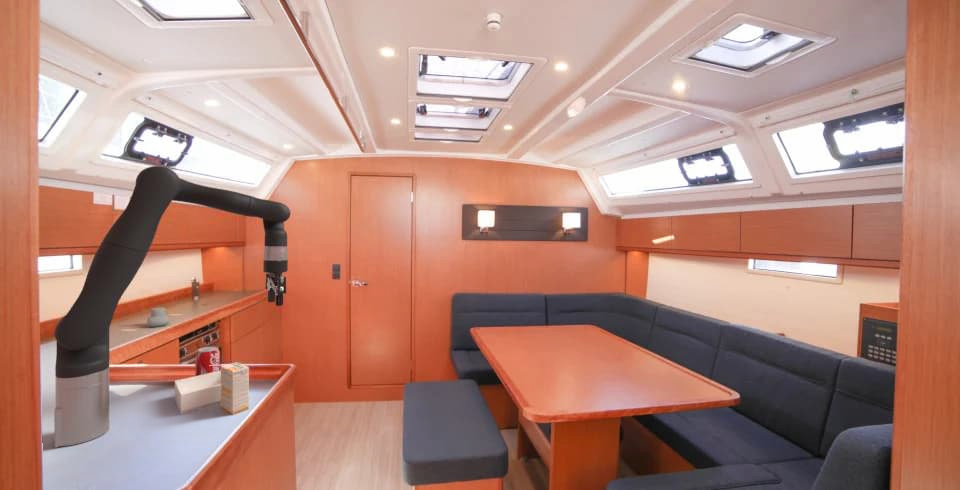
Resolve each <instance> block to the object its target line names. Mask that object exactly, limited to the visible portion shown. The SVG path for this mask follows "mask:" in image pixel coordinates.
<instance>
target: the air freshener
mask: <svg viewBox="0 0 960 490" xmlns="http://www.w3.org/2000/svg"><path fill="white" fill-rule="evenodd" d="M150 311H151V312H150V313H151V314H150V316H149V317H147V326H148V327H150V328H159V326H160V327H163V326H164V325H165V326H167V325H169V324H170V317H169V315H167V314H166V307H164V306H163V307H162V306H161V307H153V308H151V310H150Z"/></svg>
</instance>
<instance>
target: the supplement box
mask: <svg viewBox="0 0 960 490" xmlns="http://www.w3.org/2000/svg"><path fill="white" fill-rule="evenodd" d="M220 371H221V404H220V408H221V409H223V410H225V412H228V413H229V414H231V415H235V414H237V413H240V412H243V411H246V410H249V405H250V403H249V400H250V397H249V396H250V395H249V394H250V393H249V391H250V390H249V389H250V383H249V382H250V367H249V366H247V365H245V364H243V363H240V362H239V361H237V362H236V361H235V362H232V363H228V364H225V365H220Z"/></svg>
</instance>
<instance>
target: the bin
mask: <svg viewBox="0 0 960 490" xmlns="http://www.w3.org/2000/svg"><path fill="white" fill-rule="evenodd" d="M174 402H175V404H176V406H177V409H178V412H179V415H181V416H182V415H186V414H190V413H193V412H196V411H201V410H204V409H207V408H211V407H214V406H218V405H221V370H220V371H217V372H212V373H208V374H203V375H199V376H190V377H186V378H182V379H177V380H174Z"/></svg>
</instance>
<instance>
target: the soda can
mask: <svg viewBox="0 0 960 490" xmlns="http://www.w3.org/2000/svg"><path fill="white" fill-rule="evenodd" d="M209 365H220V366H209ZM219 367H220V368H221V351H220V350H219V347H218V346H214V345H213V346H206V347H201V348H199V349H197V353H196V354H195V376H199V375H203V374H208V373H212V372H217V371H219Z"/></svg>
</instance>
